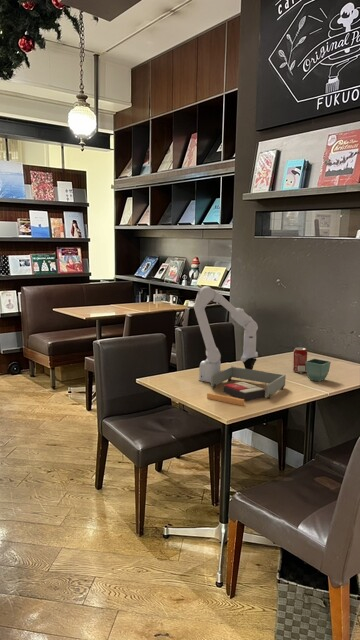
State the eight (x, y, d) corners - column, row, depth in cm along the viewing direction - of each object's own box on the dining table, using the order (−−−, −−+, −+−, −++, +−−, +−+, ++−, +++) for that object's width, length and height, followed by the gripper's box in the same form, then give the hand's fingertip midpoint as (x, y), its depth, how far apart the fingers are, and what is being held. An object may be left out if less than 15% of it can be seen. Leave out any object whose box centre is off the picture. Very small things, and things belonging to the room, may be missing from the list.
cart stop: (207, 398, 189) (207, 393, 189) (208, 397, 191) (209, 392, 190) (242, 405, 181) (242, 400, 180) (244, 404, 182) (244, 399, 182)
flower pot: (321, 383, 213) (322, 364, 211) (304, 379, 218) (305, 361, 217) (330, 379, 219) (331, 361, 218) (312, 376, 225) (313, 358, 224)
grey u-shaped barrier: (210, 388, 203) (210, 375, 202) (231, 378, 219) (231, 366, 218) (267, 399, 188) (268, 385, 187) (285, 387, 205) (285, 374, 204)
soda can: (306, 373, 230) (308, 350, 228) (292, 372, 231) (293, 349, 229) (305, 370, 236) (307, 347, 234) (292, 369, 237) (293, 346, 236)
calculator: (243, 380, 204) (265, 387, 191) (243, 390, 204) (265, 398, 191) (222, 384, 198) (244, 391, 185) (222, 394, 199) (244, 402, 186)
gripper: (251, 348, 205) (250, 378, 207) (263, 343, 217) (262, 371, 219) (236, 346, 209) (235, 376, 211) (250, 341, 221) (249, 369, 223)
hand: (248, 373), depth 215 cm, fingers closed
